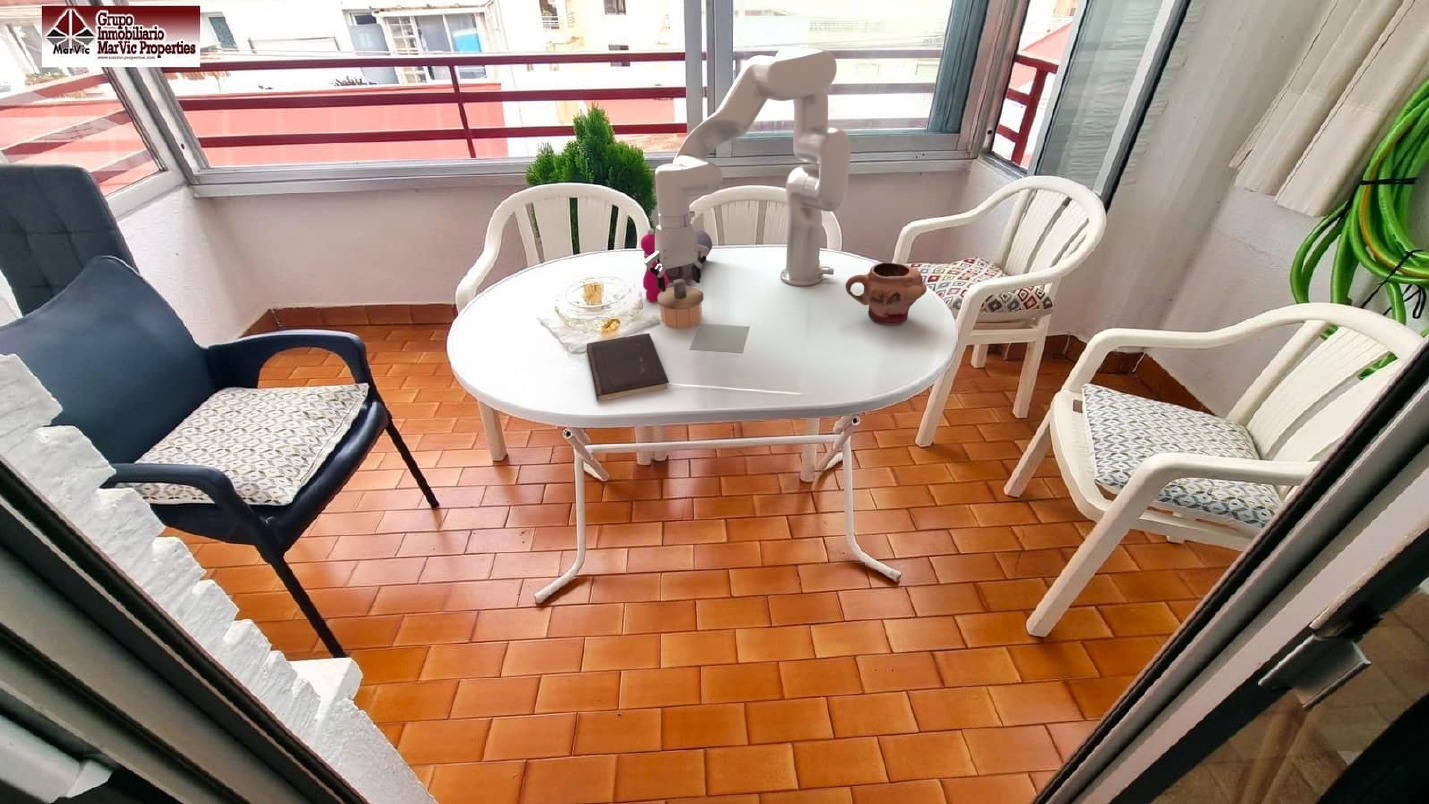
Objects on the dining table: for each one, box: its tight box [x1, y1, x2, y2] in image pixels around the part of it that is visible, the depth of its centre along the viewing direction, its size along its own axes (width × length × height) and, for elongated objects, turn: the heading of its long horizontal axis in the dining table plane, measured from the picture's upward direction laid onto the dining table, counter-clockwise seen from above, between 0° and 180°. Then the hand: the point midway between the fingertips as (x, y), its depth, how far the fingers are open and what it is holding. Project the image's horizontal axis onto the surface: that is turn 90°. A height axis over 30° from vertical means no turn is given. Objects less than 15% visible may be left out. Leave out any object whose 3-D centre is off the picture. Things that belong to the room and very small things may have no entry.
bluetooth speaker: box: [665, 229, 713, 284], centre depth 175 cm, size 23×9×10 cm, turn 159°
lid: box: [657, 279, 705, 309], centre depth 149 cm, size 12×12×5 cm
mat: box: [689, 323, 750, 354], centre depth 145 cm, size 13×13×1 cm
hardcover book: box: [586, 332, 670, 402], centre depth 135 cm, size 16×23×2 cm
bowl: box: [659, 302, 703, 329], centre depth 152 cm, size 10×11×6 cm
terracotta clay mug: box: [844, 262, 928, 326], centre depth 147 cm, size 20×12×14 cm, turn 89°
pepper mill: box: [640, 228, 670, 303], centre depth 159 cm, size 7×7×20 cm
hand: (679, 285), depth 148 cm, fingers open, 9 cm apart
